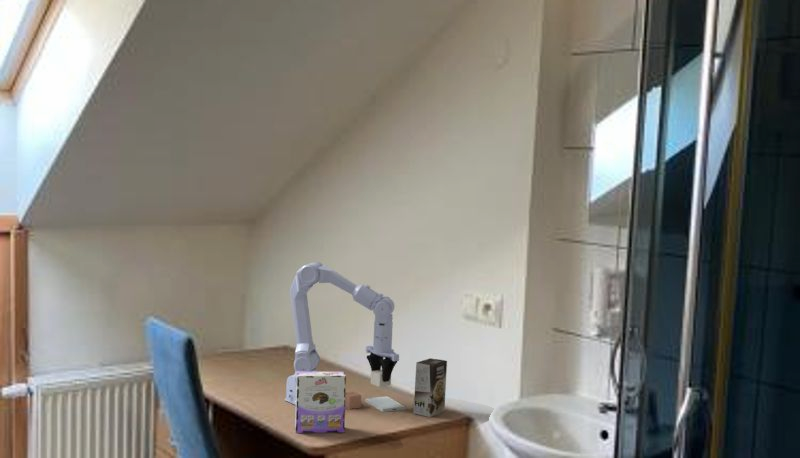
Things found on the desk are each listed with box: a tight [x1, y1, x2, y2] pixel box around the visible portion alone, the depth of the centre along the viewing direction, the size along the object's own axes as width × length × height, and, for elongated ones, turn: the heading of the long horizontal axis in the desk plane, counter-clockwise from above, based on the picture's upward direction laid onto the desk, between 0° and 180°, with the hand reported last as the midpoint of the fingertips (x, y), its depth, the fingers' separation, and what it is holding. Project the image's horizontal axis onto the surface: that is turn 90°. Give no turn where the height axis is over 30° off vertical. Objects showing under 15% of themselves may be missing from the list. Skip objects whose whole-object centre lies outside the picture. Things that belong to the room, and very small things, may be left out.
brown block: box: [345, 391, 362, 410], centre depth 266 cm, size 4×4×4 cm
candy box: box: [294, 370, 347, 434], centre depth 240 cm, size 14×6×16 cm, turn 99°
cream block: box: [370, 369, 392, 388], centre depth 265 cm, size 4×4×4 cm
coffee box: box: [413, 357, 448, 418], centre depth 262 cm, size 9×6×16 cm
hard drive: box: [364, 395, 407, 413], centre depth 269 cm, size 2×8×12 cm
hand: (381, 379), depth 265 cm, fingers closed on cream block, 4 cm apart
